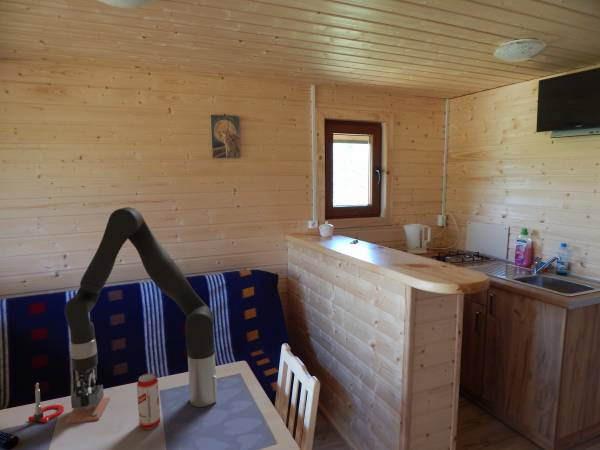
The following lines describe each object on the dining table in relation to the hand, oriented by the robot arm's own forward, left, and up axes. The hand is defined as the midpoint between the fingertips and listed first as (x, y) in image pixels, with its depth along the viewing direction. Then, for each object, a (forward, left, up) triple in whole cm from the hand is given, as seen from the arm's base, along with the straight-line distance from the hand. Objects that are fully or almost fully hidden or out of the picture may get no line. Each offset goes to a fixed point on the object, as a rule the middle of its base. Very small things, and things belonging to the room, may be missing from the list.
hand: (88, 400), depth 131 cm
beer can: (-22, +12, -4) cm, 25 cm away
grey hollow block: (0, 0, -1) cm, 1 cm away
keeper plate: (0, 0, -4) cm, 4 cm away
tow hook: (+13, -1, -4) cm, 14 cm away
